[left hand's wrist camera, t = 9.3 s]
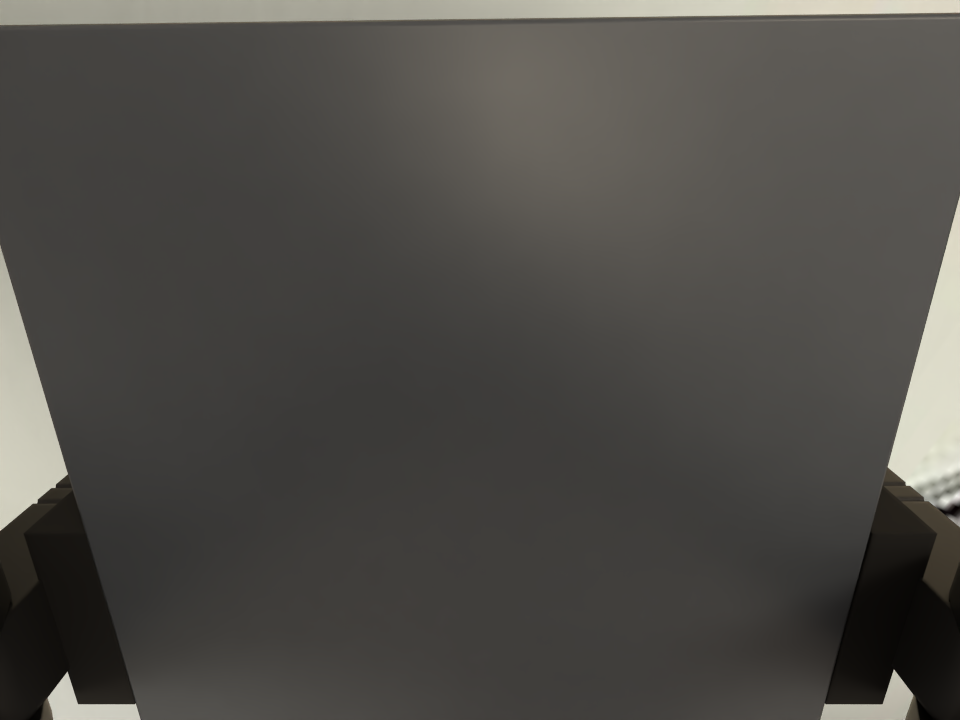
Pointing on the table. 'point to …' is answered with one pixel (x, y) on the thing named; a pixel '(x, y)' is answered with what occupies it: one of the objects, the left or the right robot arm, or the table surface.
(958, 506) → the table surface
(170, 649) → the long grey beam
